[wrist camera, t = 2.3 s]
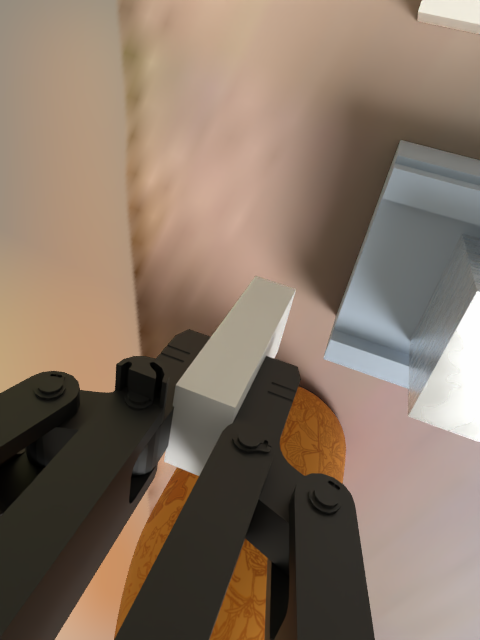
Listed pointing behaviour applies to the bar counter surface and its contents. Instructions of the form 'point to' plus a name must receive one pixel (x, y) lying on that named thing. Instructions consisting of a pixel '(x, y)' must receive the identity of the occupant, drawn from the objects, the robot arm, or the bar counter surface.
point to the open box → (404, 258)
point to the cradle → (451, 14)
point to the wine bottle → (251, 568)
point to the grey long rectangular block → (449, 348)
